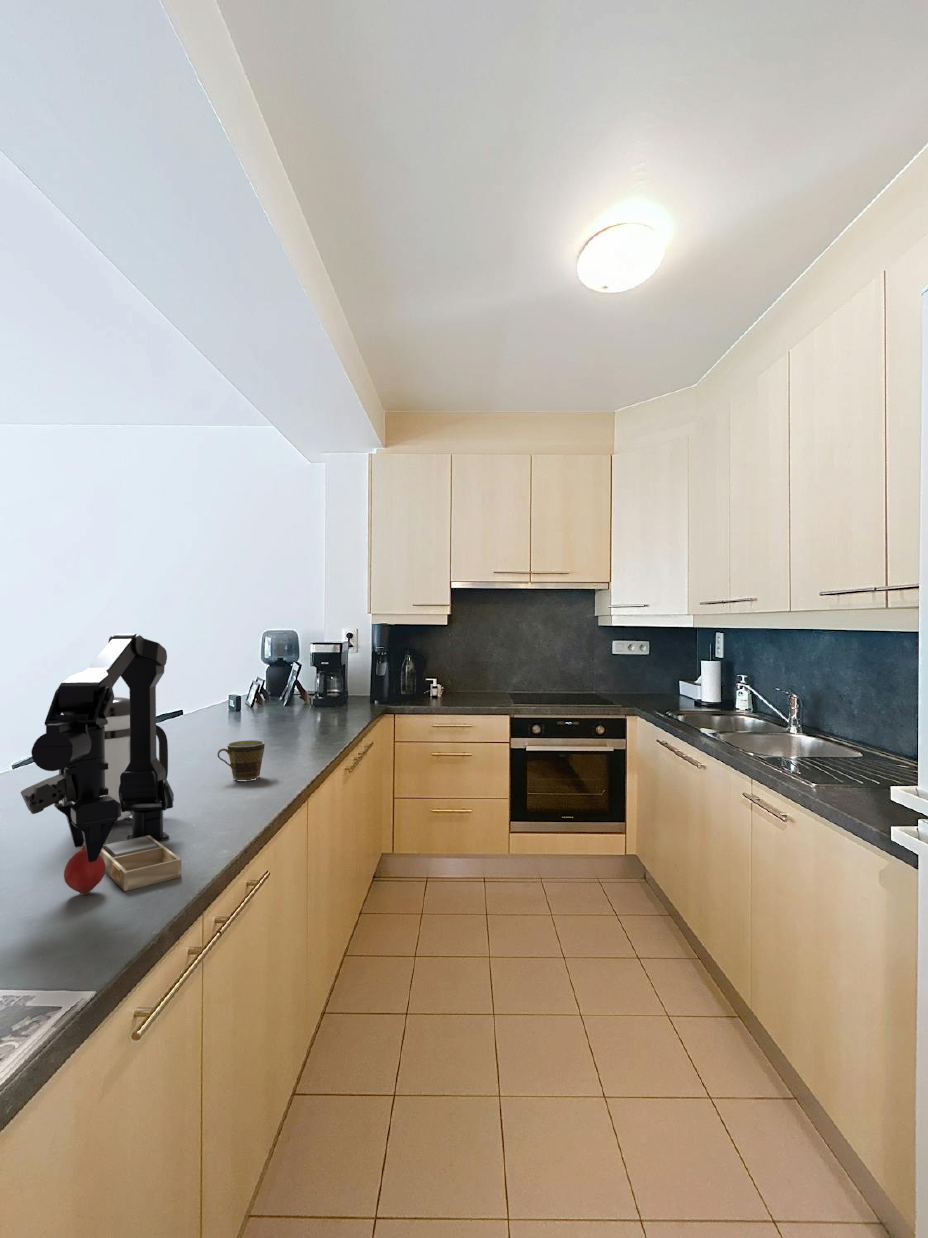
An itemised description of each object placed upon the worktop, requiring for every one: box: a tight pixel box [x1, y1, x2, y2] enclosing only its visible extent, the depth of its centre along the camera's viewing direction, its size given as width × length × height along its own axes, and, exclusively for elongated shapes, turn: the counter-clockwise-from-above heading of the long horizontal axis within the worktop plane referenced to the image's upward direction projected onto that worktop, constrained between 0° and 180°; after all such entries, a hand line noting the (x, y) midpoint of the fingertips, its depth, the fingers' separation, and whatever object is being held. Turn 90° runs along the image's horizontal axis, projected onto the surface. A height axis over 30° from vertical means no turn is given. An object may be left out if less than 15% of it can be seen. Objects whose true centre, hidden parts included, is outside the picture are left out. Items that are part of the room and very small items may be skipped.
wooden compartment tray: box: [99, 835, 182, 892], centre depth 116 cm, size 18×9×3 cm, turn 42°
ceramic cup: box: [216, 739, 266, 780], centre depth 183 cm, size 13×10×10 cm
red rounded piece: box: [63, 844, 106, 895], centre depth 106 cm, size 6×6×8 cm
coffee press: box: [99, 696, 169, 826], centre depth 145 cm, size 17×16×30 cm
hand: (85, 854), depth 106 cm, fingers open, 9 cm apart
